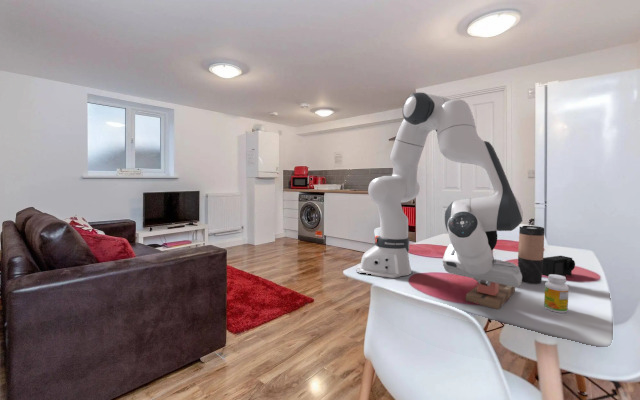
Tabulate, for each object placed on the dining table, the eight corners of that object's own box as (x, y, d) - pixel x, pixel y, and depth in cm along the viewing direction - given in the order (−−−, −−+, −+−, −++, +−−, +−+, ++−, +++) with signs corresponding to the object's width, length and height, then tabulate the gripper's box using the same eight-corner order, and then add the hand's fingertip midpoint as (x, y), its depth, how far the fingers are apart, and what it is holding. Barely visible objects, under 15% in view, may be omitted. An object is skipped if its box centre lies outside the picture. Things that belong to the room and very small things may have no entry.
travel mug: (546, 284, 108) (549, 229, 106) (522, 283, 109) (525, 228, 108) (535, 277, 115) (538, 225, 114) (513, 276, 117) (515, 225, 115)
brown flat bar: (498, 309, 87) (498, 302, 87) (465, 300, 94) (465, 294, 94) (514, 291, 102) (515, 285, 102) (485, 284, 108) (485, 279, 108)
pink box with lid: (495, 296, 91) (497, 263, 90) (475, 291, 95) (476, 259, 94) (500, 292, 94) (501, 260, 94) (480, 287, 98) (481, 257, 98)
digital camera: (556, 279, 114) (557, 261, 113) (541, 275, 119) (542, 257, 118) (575, 276, 117) (576, 258, 117) (559, 272, 122) (560, 255, 122)
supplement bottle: (539, 305, 90) (540, 273, 89) (556, 305, 90) (557, 273, 90) (554, 313, 85) (556, 279, 84) (572, 312, 85) (574, 279, 84)
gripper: (521, 255, 79) (527, 282, 87) (443, 243, 94) (454, 267, 101) (516, 275, 76) (523, 302, 84) (436, 260, 91) (448, 284, 98)
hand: (485, 283), depth 93 cm, fingers closed, pressing on pink box with lid
